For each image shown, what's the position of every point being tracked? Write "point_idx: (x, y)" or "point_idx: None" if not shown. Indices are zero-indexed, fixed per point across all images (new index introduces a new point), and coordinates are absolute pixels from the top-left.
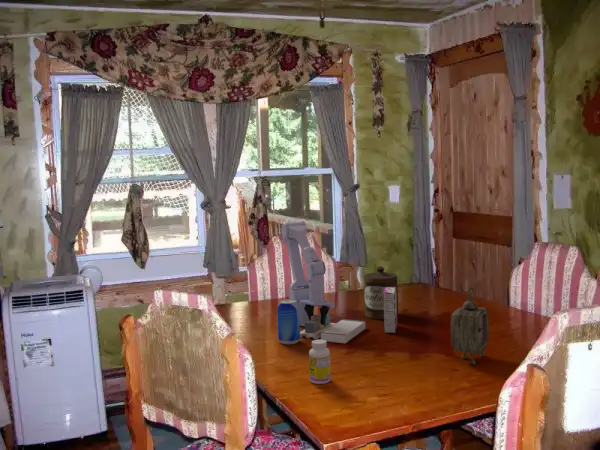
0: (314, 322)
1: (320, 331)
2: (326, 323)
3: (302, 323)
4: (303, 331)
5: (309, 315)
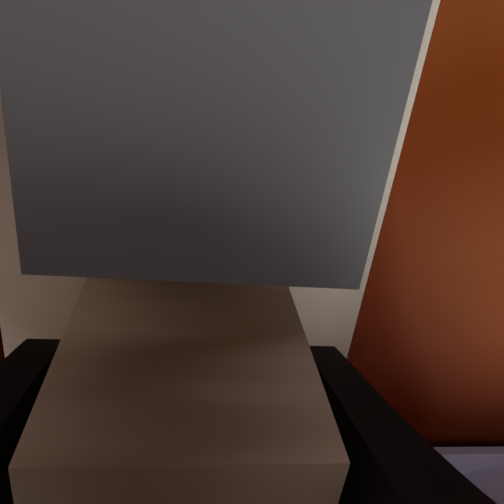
0: (38, 24)
1: None
2: None
3: (478, 482)
4: None
5: (414, 487)
